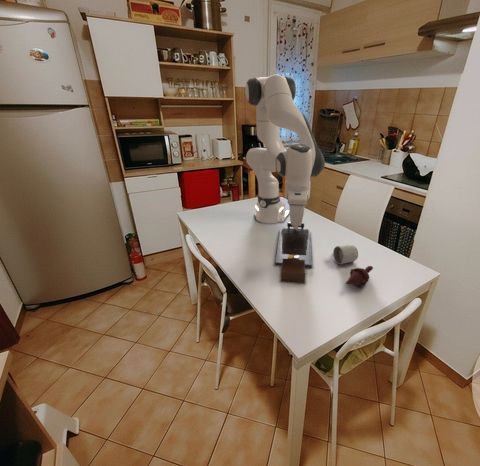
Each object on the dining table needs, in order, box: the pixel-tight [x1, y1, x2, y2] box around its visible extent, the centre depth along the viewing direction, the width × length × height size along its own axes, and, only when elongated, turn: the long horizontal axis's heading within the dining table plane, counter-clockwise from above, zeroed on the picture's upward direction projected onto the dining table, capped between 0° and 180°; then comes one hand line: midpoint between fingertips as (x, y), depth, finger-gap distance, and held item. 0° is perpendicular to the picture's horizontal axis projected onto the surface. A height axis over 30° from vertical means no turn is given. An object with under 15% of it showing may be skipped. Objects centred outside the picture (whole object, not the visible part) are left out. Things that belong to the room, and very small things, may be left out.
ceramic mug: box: [332, 244, 359, 265], centre depth 113 cm, size 11×8×8 cm
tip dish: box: [282, 222, 309, 255], centre depth 104 cm, size 15×10×3 cm
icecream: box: [346, 265, 374, 287], centre depth 98 cm, size 7×7×15 cm
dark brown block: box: [280, 259, 306, 284], centre depth 103 cm, size 9×9×5 cm
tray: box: [274, 228, 313, 269], centre depth 123 cm, size 31×15×2 cm, turn 174°
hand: (295, 226), depth 101 cm, fingers closed on tip dish, 2 cm apart
